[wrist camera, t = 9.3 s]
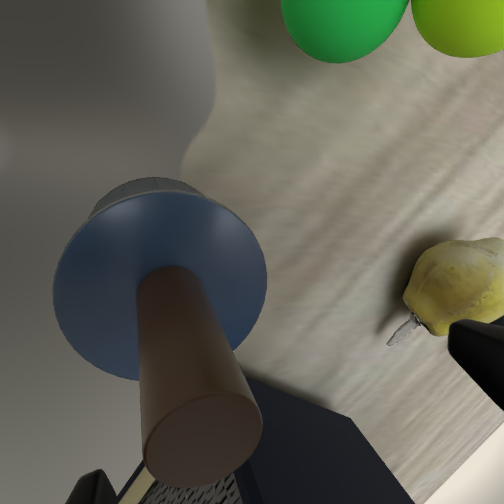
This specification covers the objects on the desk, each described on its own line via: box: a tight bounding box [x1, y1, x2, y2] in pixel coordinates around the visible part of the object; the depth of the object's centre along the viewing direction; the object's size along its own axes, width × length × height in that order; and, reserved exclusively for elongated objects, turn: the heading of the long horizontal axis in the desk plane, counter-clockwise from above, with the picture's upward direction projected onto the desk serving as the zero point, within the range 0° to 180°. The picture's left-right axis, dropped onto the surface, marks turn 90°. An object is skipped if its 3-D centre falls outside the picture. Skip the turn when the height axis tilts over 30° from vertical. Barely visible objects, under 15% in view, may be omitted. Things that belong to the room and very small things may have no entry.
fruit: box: [387, 238, 504, 346], centre depth 23 cm, size 6×6×10 cm
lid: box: [53, 190, 267, 488], centre depth 10 cm, size 8×8×8 cm
